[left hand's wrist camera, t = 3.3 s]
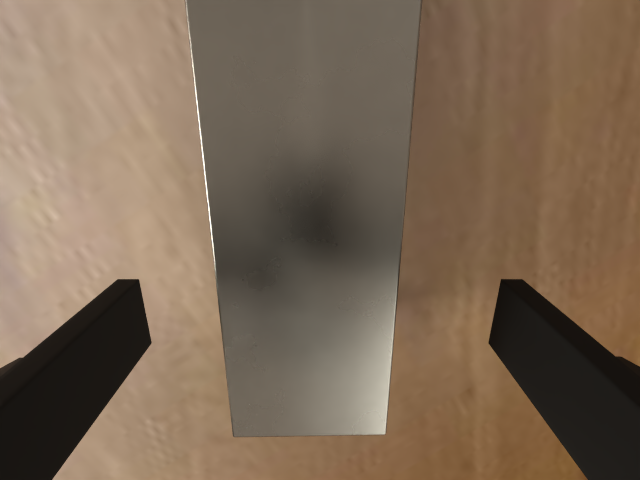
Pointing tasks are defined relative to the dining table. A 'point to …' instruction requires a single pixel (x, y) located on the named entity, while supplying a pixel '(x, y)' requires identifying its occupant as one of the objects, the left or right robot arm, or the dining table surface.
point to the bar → (306, 202)
